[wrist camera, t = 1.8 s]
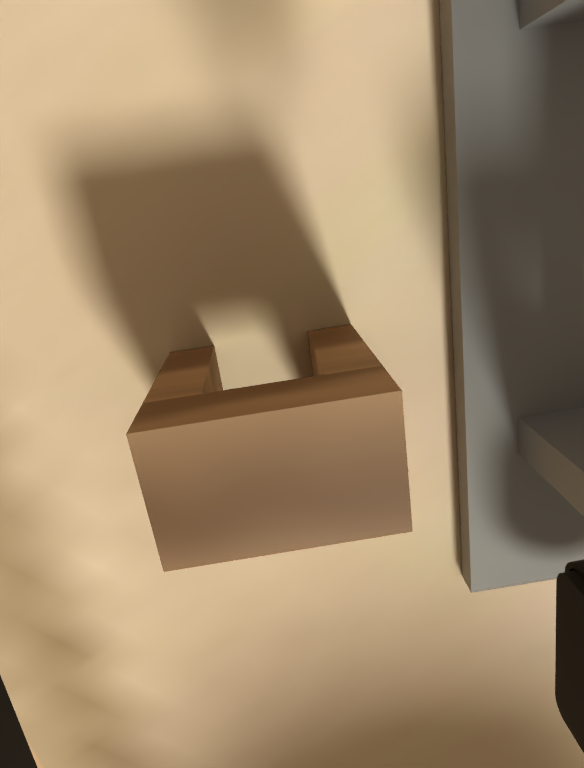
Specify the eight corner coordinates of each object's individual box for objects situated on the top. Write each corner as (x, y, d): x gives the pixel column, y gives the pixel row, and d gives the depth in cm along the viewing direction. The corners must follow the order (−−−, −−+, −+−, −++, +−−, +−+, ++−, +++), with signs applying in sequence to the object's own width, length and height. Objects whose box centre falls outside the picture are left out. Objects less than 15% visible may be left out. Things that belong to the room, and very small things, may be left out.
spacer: (170, 352, 19) (126, 434, 13) (351, 324, 19) (401, 390, 13) (192, 451, 20) (163, 571, 14) (361, 424, 21) (412, 531, 14)
